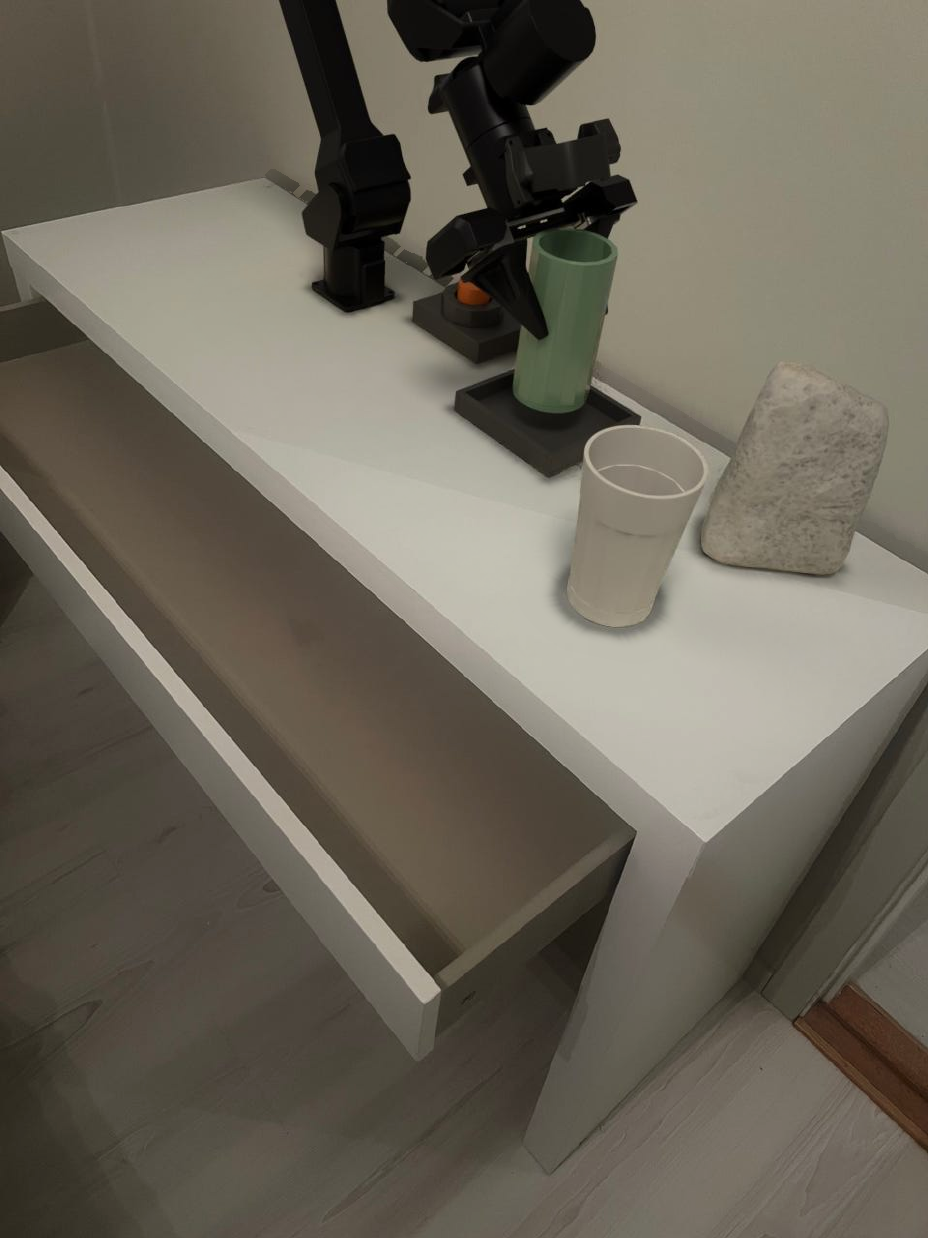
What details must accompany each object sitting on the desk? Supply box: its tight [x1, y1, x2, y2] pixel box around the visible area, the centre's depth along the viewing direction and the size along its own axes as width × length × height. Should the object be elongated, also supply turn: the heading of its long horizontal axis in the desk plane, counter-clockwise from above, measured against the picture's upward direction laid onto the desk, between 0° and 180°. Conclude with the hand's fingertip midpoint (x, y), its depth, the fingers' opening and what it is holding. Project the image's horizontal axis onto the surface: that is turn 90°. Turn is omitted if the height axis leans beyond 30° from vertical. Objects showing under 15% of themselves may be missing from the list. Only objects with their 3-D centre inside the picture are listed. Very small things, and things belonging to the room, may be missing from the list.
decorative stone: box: [700, 360, 890, 575], centre depth 68 cm, size 11×6×15 cm, turn 78°
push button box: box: [411, 282, 521, 365], centre depth 92 cm, size 10×7×4 cm
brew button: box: [457, 278, 490, 305], centre depth 91 cm, size 3×3×2 cm
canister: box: [512, 228, 619, 413], centre depth 77 cm, size 7×7×13 cm
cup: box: [566, 424, 709, 628], centre depth 63 cm, size 8×8×12 cm
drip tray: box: [453, 367, 642, 479], centre depth 83 cm, size 12×11×2 cm
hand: (573, 326), depth 76 cm, fingers closed on canister, 6 cm apart
